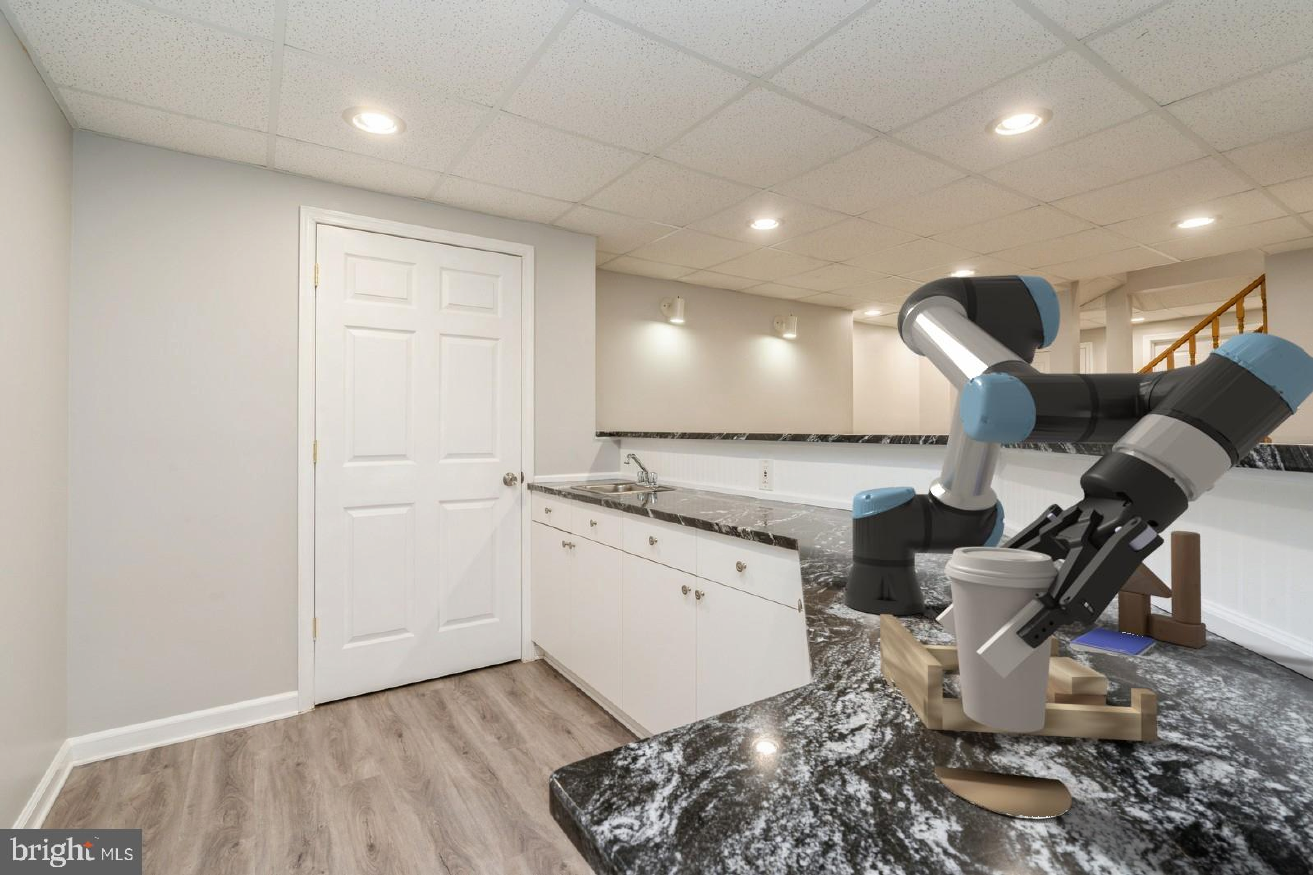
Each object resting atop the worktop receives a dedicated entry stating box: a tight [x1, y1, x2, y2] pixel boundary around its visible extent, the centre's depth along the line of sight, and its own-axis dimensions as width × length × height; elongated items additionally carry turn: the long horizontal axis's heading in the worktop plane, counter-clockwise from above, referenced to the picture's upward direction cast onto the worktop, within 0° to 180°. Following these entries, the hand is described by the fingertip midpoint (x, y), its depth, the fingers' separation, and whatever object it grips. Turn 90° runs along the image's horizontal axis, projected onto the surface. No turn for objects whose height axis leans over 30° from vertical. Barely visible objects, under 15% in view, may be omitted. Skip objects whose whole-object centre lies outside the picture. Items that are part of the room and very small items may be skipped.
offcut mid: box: [1046, 680, 1107, 706], centre depth 73 cm, size 5×8×2 cm, turn 162°
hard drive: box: [1069, 627, 1157, 657], centre depth 96 cm, size 2×8×12 cm
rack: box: [879, 614, 1158, 743], centre depth 73 cm, size 22×20×8 cm
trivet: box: [934, 765, 1072, 817], centre depth 56 cm, size 11×11×1 cm
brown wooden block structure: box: [1117, 530, 1207, 649], centre depth 100 cm, size 4×11×18 cm, turn 32°
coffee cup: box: [943, 546, 1060, 732], centre depth 56 cm, size 10×10×15 cm
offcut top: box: [1048, 656, 1108, 696], centre depth 72 cm, size 4×6×2 cm, turn 0°
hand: (966, 645), depth 57 cm, fingers closed on coffee cup, 9 cm apart
